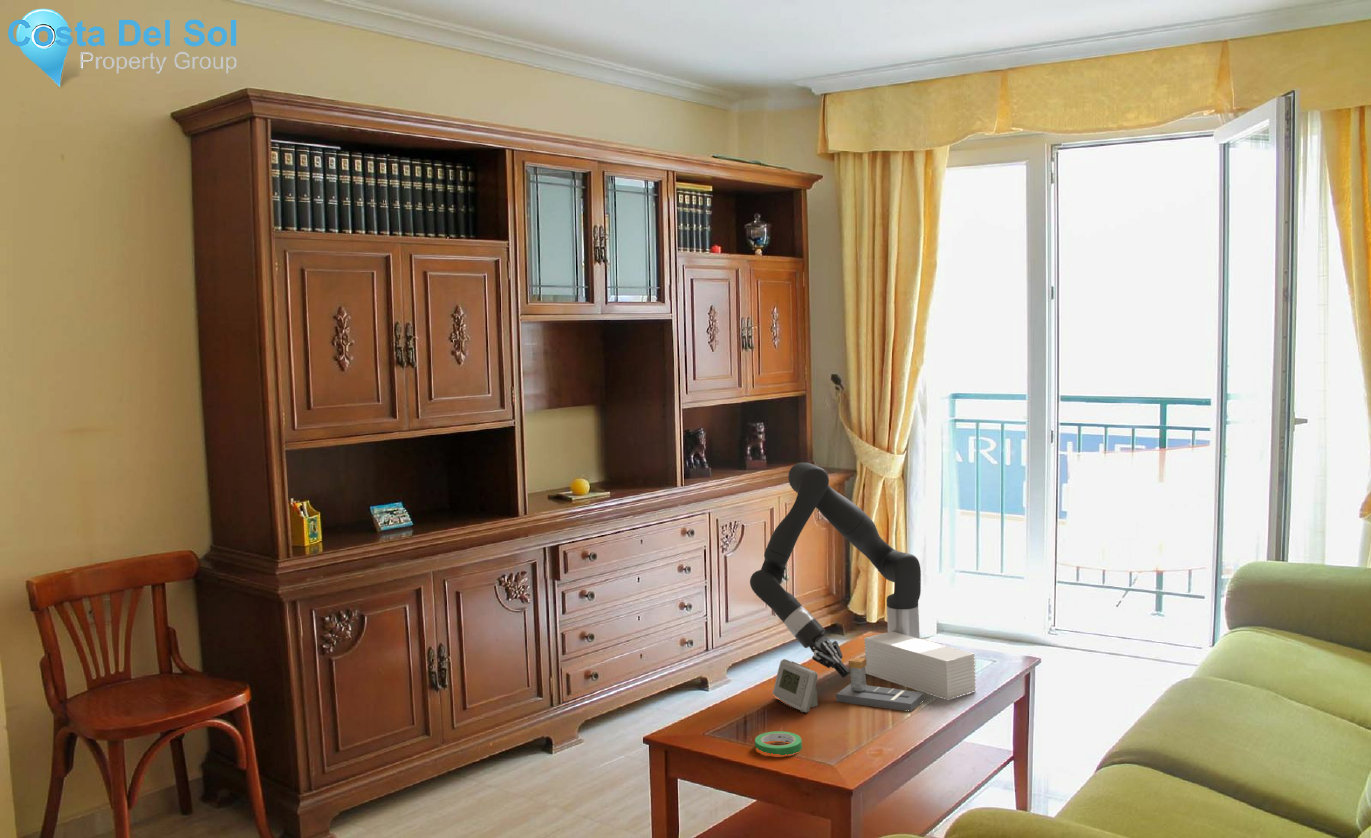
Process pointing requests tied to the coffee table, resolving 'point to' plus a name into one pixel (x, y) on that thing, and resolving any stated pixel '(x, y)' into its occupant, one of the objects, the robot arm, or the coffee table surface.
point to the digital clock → (796, 685)
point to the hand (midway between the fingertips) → (847, 675)
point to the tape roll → (779, 736)
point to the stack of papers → (920, 664)
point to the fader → (858, 674)
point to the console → (881, 697)
